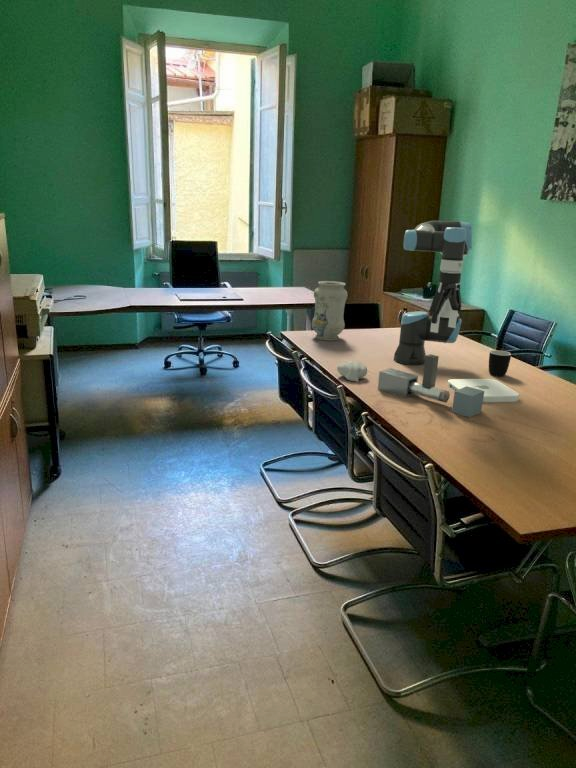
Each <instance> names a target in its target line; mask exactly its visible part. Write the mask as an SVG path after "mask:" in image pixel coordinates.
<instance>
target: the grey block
mask: <svg viewBox="0 0 576 768" xmlns="http://www.w3.org/2000/svg"><path fill="white" fill-rule="evenodd" d="M483 397H484V391H483V390H479V389H475V388H471V387H467V386H466V387H464V388H461V389H459V390H457V391H455V392H454V395H453V401H452V407H451V408H452V409H451V413H454V414H457V415H461V416H462V417H463V416H464V417H466V418H472V417H474V416H476V415H478V414H480V413H481V412H482V408H483V404H484V402H483Z"/></svg>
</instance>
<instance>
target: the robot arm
mask: <svg viewBox="0 0 576 768" xmlns="http://www.w3.org/2000/svg"><path fill="white" fill-rule="evenodd" d="M472 227H473V226H472V223H470V222H468V221H467V222H466V221H461V220H460V221H457V220H456V221H455V220H454V221H453V220H430V221H424V222H422V223H420V224H418V225H416V226H415V228H414V229H407V230H405V233H404V237H403V249H404V250H405V251H411V252H414V251H415V252H416V251H418V252H434V253H440V254H441V260H440V264H439V265H440V266H439V270H440V272H439V274H438V275H439V276H438V282H439V285H436V288H435V293H434V295H433V299H432V301H431V304H430V307H429V310H428V312H429V314H431V315H429V314H428V312H426V311H421V310H420V311H419V310H418V311H409V312H405V313H403V315H402V316H401V322H400V331H399V333H400V334H399V341H398V345H397V347H396V349H395V352H394V354H393V361H394V362H397V363H399V364H404V365H410V366H411V365H412V366H417V365H418V366H420V365H425V357H426V356H427V354H426V348H425V342H434V343H435V342H436V343H443V344H454V343H456V341H457V340H458V337H459V333H460V329H461V326H462V325H461V324H462V321H463V320H462V318H460V314H459V313H458V312H459V311H461V310H462V298H461V297H462V296H461V276H462V271H463V270H462V269H463V266H464V264H463V263H464V258H465V257H466V256H467V255H468V254H469V253H468V252H470V251H472V250H473V249H472V247H473V241H472V240H473V239H472V238H473V237H472V236H473V235H472V233H473V228H472Z"/></svg>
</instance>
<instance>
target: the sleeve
mask: <svg viewBox="0 0 576 768" xmlns="http://www.w3.org/2000/svg"><path fill="white" fill-rule="evenodd" d="M378 372H379V373H378V383H377V390H378V391H382V392H386V393H390V394H393V395H396V396H399V397H402V398H408V397H411V396H412V395H413V396H414V395H415V394H414V393H411V392H408V384H409V381H413V382H417V383H418V379H419V375H418V374H413V373H411V372H408V371H407V372H406V371H403V370H400V369H399V370H398V369H394V368H386V369H383V370H380V371H378Z"/></svg>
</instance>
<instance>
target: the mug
mask: <svg viewBox="0 0 576 768" xmlns="http://www.w3.org/2000/svg"><path fill="white" fill-rule="evenodd" d="M511 359H512V354H511V352H508V351H505V350H498V349H497V350H496V349H495V350H494V349H493V350H490V351H489V355H488V373H489V374H490V376H494V377H497V378H498V377H499V378H503V377H505V376H506V374H507V373H508V370H509V365H510V363H511Z"/></svg>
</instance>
